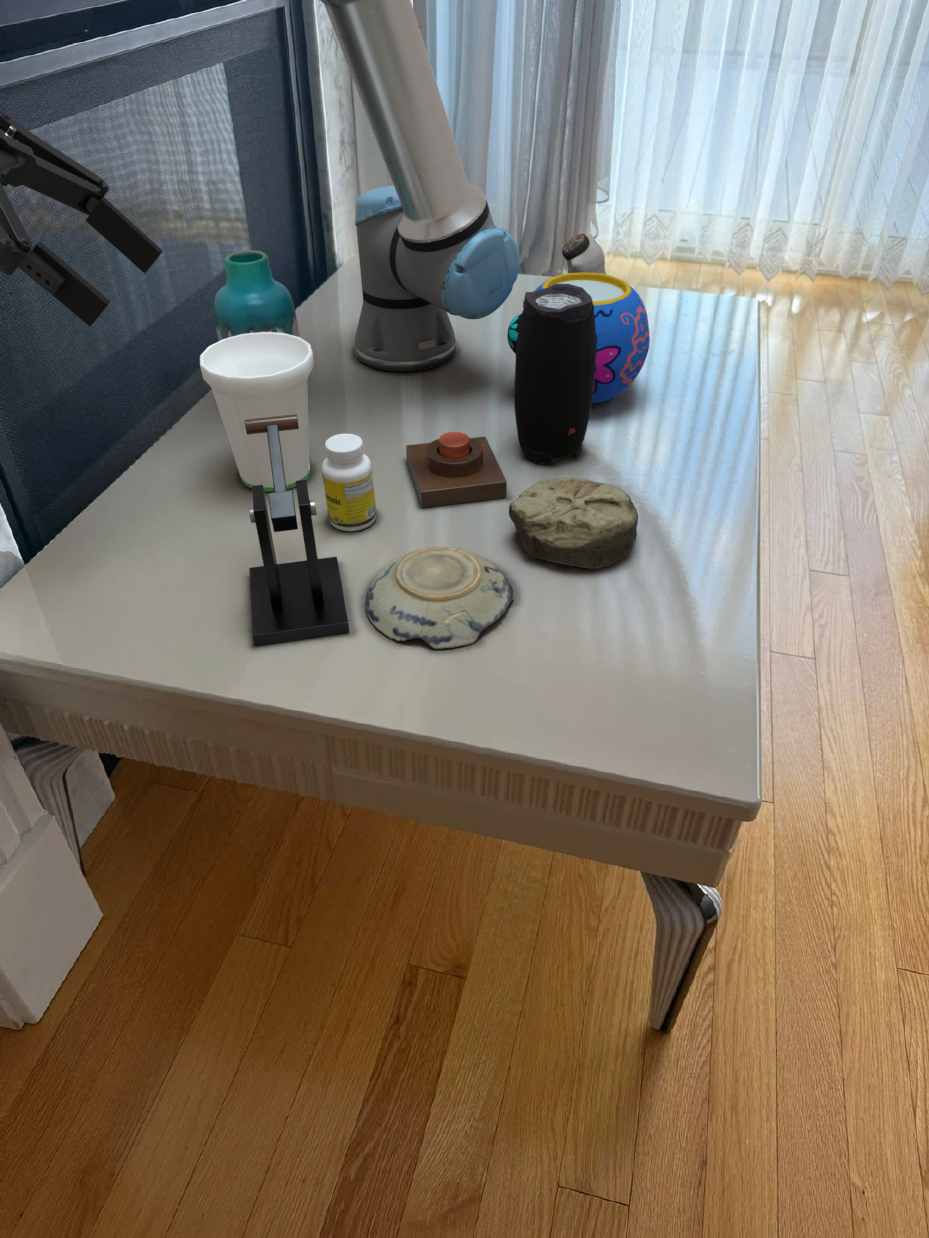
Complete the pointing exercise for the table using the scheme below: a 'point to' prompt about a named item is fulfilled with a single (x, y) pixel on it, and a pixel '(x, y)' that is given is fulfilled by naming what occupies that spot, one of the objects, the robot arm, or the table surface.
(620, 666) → the table surface
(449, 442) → the button
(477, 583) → the decorative bowl
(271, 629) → the bracket
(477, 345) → the table surface
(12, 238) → the robot arm
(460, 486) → the button block
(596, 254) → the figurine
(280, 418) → the lever
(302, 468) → the cup
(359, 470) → the supplement bottle
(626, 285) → the ceramic pot
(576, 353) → the portable speaker
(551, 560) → the stone
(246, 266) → the vase
